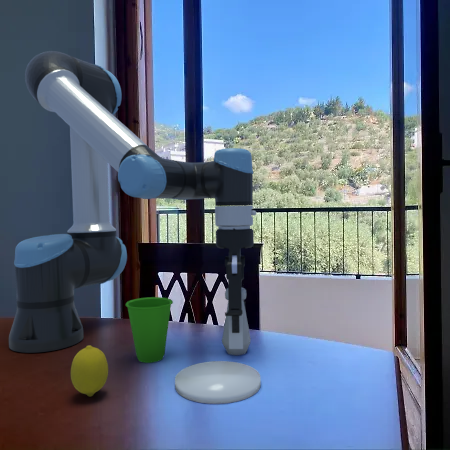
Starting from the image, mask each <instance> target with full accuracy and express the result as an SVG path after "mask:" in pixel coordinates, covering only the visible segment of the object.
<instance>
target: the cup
mask: <svg viewBox="0 0 450 450" xmlns="http://www.w3.org/2000/svg"><path fill="white" fill-rule="evenodd" d="M172 304H174V300H173V299H171V298H169V297H159V296H151V297H150V296H149V297H141V298H140V297H139V298H135V299H134V298H133V299H131V300H128V301H127V302H126V303H125V307H127V311H128V317H129V322H130V328H131V333H132V339H133V343H134V349H135V354H136V358H137V360H138V361H139V362H141V363H145V364H146V363H147V364H148V363H151V364H152V363H157V362H160V361H162V360H163V358H164V356H165V354H166V353H165V351H166V344H167V337H168V331H169V329H168V328H169V322H170V314H171V307H172Z"/></svg>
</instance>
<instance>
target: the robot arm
mask: <svg viewBox="0 0 450 450" xmlns="http://www.w3.org/2000/svg"><path fill="white" fill-rule="evenodd" d="M24 81H25V84H26V88H27V90H28V92H29V94H30V95H31V97H33V99H34V100H35V101H36V102H37V103H38V104H39V105H40V106H41V107H42V108H43V109H45V110H46V111H48V112H52V113H55V114H56V115H57V116H58V117H59V118H61V119H62V120H63V121H64V122H65V123H66V124H67V125H68V126H69V136H70V161H71V162H70V164H71V165H70V166H71V191H72V192H71V193H72V217H73V221H72V222H73V223H72V226H71V227H69V228H68V230H67V232H66V233H57V234H54V233H53V234H48V235H39V236H34V237H31V238H26V239H24V240H22V241H20V242H18V244H17V245H16V246H15V250H14V252H15V253H14V261H13V264H14V267H15V269H14V270H15V292H16V293H15V294H16V295H15V297H16V312H15V315H14V319H13V323H12V325H11V328H10V332H9V335H8V348H9V349H10V350H11V351H13V352H17V353H26V354H27V353H28V354H29V353H30V354H31V353H33V354H34V353H44V352H51V351H56V350H61V349H65V348H68V347H71V346H74V345H77V344H79V343H80V342H81V341H83V339H84V328H83V327H84V326H83V324H82V321H81V319H80V315H79V314H78V310H77V309H76V305H75V298H74V297H75V289H79V288H83V287H87V286H88V287H89V286H93V285H94V286H95V285H97V284H98V285H102V284H104V283H107V282H110V281H113V280H115V279H117V278H118V277H119V276H120V274H121V273H122V272H123V271H124V270H125V266H126V264H127V261H128V253H127V247H126V245H125V244H124V243H123V240H122V239H121V238H119V237H118V236H117V228H115V227H114V226H113V225H112V224H111V222H110V220H111V219H110V193H109V190H110V189H109V166H108V165H110V166H111V167H112V168H113V169H114V170H115V171H116V172H117V179H118V182H119V185H120V188H121V190H122V191H123V192H124V193H125V194H126V195H127V196H130V197H132V198H139V199H143V200H153V199H171V200H177V201H187V200H202V199H214V201H215V202H214V203H215V204H214V220H215V221H214V223H215V224H214V225H215V226H216V227H217V229H216V230H215V246H216V247H217V248H218V249H224V250H225V249H228V255H226V256H224V265H225V267H226V269H225V272H226V273H225V276H226V280H227V281H228V282H227V286H228V287H227V288H228V300H227V304H228V303H229V310H228V312H227V311H226V312H224V316H225V317H226V316H228V318H229V349H243V313H242V294H241V287H242V288H243V286H242V284H243V283H242V281H243V280H244V279H245V276H244V275H245V270H244V269H245V266H246V256H245V255H242V254H241V253H242V252H241V249H248V248H249V249H251V248H252V247H254V244H255V241H254V237H255V235H254V232H255V231H254V230H253V228H251V227H252V226H253V225H254V217H253V216H256V215H257V211H256V210H254V209H253V208H254V207H253V205H254V201H253V199H254V196H253V192H254V188H253V186H254V185H253V183H254V181H253V178H254V177H253V175H254V170H253V159H252V157H253V156H252V153H251V151H250V150H248V149H245V148H238V147H236V148H235V147H231V148H230V147H229V148H221V149H217V150H216V151H215V152H214V153H213V154H214V156H213V160H211V161H205V162H204V161H203V162H200V161H199V162H189V161H181V160H180V161H179V160H175V159H168V158H163V157H161V156H160V155H159V154H157V152H155V151H154V150H152V148H150V147H149V146H148V145H147V144H146V143H145V142H144V141H143V140H142V139H140V137H138V136H137V135H136V134H135V133H134V132H133V131H132V130H131V129H129V128H128V127H127V126H126V125H125V124H124V123H122V122H121V121H120V120H119V119H118V118H117V117H116V116H115V114H116V113H117V112H118V110H119V108H118V107H120V106H121V104H122V88H121V85H120V83H119V80H118V79H117V77H116V76H115V75H114V74H113V73H112V72H111V71H109V70H107V69H105V68H104V67H102V66H100V65H98V64H94V63H91V62H89V61H86V60H85V61H84V60H82V59H79V58H77V57H74V56H72V55H69V54H67V53H64V52H61V51H55V50H49V51H48V50H47V51H43V52H41V53H38V54H36V55H34V57H32V59H30V61H29V62H28V64H27V65H26V68H25V72H24ZM244 305H245V306H246V301H245V300H244Z"/></svg>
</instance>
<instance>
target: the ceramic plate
mask: <svg viewBox="0 0 450 450" xmlns="http://www.w3.org/2000/svg"><path fill="white" fill-rule="evenodd" d="M261 382H262V381H261V374H260V373H259V371H258V370H257V369H256V368H254V367H252V366H250V365H248V364H244V363H241V362H236V361H224V360H214V361H205V362H199V363H196V364H192V365H189V366H187V367H184V368H183V369H181V370H179V372H177V374H176V375H175V378H174V387H175V388H174V389H175V391H176V392H177V394H178V395H179V396H181V397H182V398H184V399H186V400H188V401H192V402H196V403H202V404H210V405H213V404H214V405H220V404H224V405H225V404H230V403H231V404H232V403H235V402H240V401H243V400H246V399H248V398H251V397H253V396H254V395H256V394H257V393H258V392H259V391H260V389H261Z"/></svg>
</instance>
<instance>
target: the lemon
mask: <svg viewBox="0 0 450 450" xmlns="http://www.w3.org/2000/svg"><path fill="white" fill-rule="evenodd" d="M106 357H107V356H106V355H105V353H104V352H103V351H102V350H101V349H99V348H98V347H94V346H92V345H86V347H84V348H81V349H80V350H79V351H78V352H77V353H76V354H75V356H74V358H73V359H72V362H71V366H70V380H71V383H72V386H73V387H74V388H75V390H76V391H78V392H79V393H81V394H82V395H83V394H84V395H87V397H93V396H94V394H96V393H97V392H99V391H100V390H101V389H102V388H103V387H104V386H105V385H106V382H107V381H108V376H109V364H108V360H107V358H106Z"/></svg>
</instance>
